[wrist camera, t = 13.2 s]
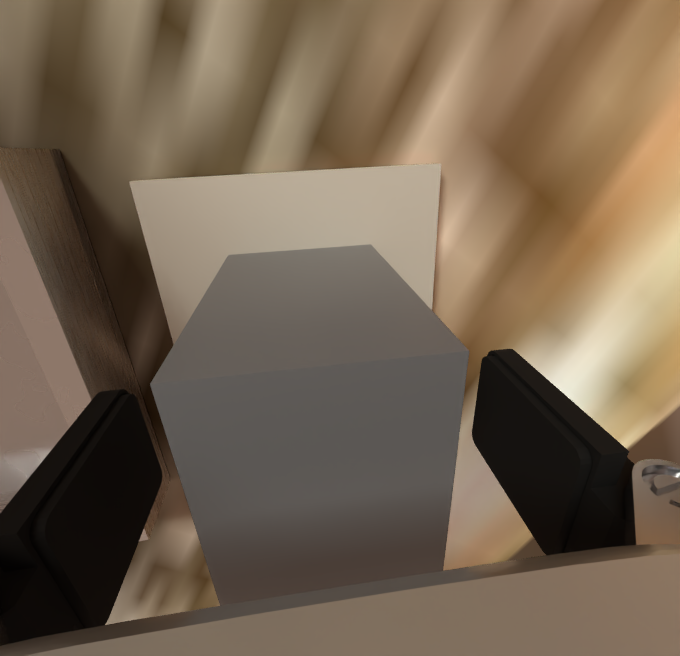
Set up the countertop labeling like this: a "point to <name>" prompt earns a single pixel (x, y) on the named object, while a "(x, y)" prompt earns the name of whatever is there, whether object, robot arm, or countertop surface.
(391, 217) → the flat beige panel
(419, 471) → the block
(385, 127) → the countertop surface
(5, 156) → the case
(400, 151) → the countertop surface
